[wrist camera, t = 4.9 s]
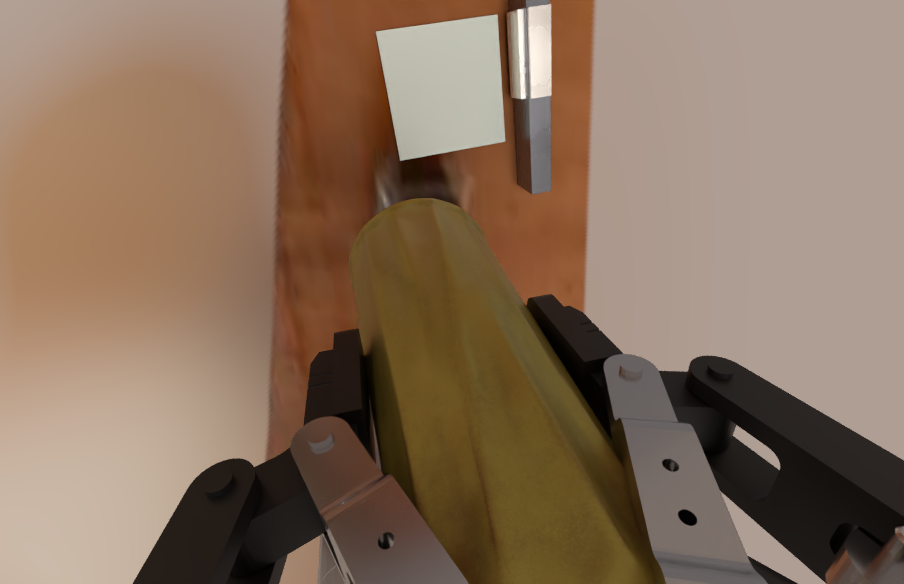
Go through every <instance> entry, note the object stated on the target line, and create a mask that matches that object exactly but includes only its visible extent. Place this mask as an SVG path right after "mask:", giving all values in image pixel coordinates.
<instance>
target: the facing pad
mask: <svg viewBox="0 0 904 584" xmlns="http://www.w3.org/2000/svg"><path fill="white" fill-rule="evenodd" d="M376 36H377V41H378V47H379V52H380V57H381V62H382V68H383V73H384V78H385V84H386V89H387V94H388V100H389V105H390V110H391V116H392V121H393V126H394V131H395V137H396V142H397V147H398V153H399V158H400V161H402V160H407V159H413V158H418V157H424V156H429V155H435V154H440V153H446V152H451V151H457V150H462V149H468V148H473V147H478V146H484V145H489V144H495V143H500V142H505V129H504V113H503V97H502V80H501V64H500V48H499V31H498V15H490V16H483V17H475V18H468V19H461V20H454V21H447V22H440V23H433V24H426V25H419V26H412V27H404V28H397V29H390V30H383V31H376Z"/></svg>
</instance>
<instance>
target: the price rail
mask: <svg viewBox="0 0 904 584" xmlns="http://www.w3.org/2000/svg"><path fill="white" fill-rule="evenodd" d="M506 15H507V34H508V53H509V72H510V91H511V97H512V98H513V102H514V122H515V142H516V162H517V183H518V185H519V186H521V187H522V188H523V189H525V190H526V191H528V192H529V193H531V194H537V193H542V192H547V191H551V120H550V96H551V95H552V94H551V4H550V1H549V0H509V12H508V13H506Z"/></svg>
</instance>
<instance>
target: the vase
mask: <svg viewBox="0 0 904 584" xmlns="http://www.w3.org/2000/svg"><path fill="white" fill-rule="evenodd" d="M349 272H350V279H351V284H352V288H353V290H354V292H355V295H356V302H357V311H358V322H359V329H360V335H361V342H362V346H363V351H364V356H365V364H366V373H367V382H368V391H369V397H370V404H371V411H372V417H373V423H374V428H375V434H376V439H377V445H378V451H379V458H380V465H381V472H382V474H383V475H385V474H387V473H389V474H391V475H392V476H393V477H394V479H395V480H396V481H397V483H398V484H399V486H400V487H401V488H402V490H403V491H404V493H405V494H406V495H407V497H408V498H409V500H410V501H411V502H412V504H413V505H414V507H415V508H416V510H417V511H418V512H419V514H420V515H421V517H422V518H423V519H424V521H425V522H426V524H427V525H428V526H429V528H430V529H431V531H432V532H433V534H434V535H435V536H436V538H437V539H438V541H439V542H440V543H441V545H442V546H443V548H444V549H445V550H446V552H447V553H448V555H449V556H450V558H451V559H452V560H453V562H454V563H455V565H456V566H457V567H458V569H459V570H460V572H461V573H462V574H463V576H464V577H465V579H466V580H467V582H468V583H469V584H654V581H653V576H652V572H651V569H650V566H649V563H648V559H647V556H646V553H645V550H644V547H643V543H642V540H641V537H640V534H639V531H638V528H637V523H636V518H635V514H634V509H633V504H632V499H631V495H630V490H629V485H628V481H627V477H626V474H625V472H624V469H623V466H622V463H621V461H620V460H619V458H618V457H617V455H616V453H615V451H614V449H613V446H612V440H611V439H610V437H609V436H608V434H607V433H606V431H605V430H604V428H603V426H602V425H601V423H600V422H599V420H598V419H597V417H596V416H595V414H594V412H593V411H592V409H591V408H590V406H589V405H588V403H587V401H586V400H585V398H584V397H583V395H582V394H581V392H580V390H579V389H578V387H577V386H576V384H575V383H574V381H573V379H572V378H571V376H570V374H569V373H568V371H567V370H566V368H565V366H564V365H563V363H562V362H561V360H560V359H559V357H558V356H557V354H556V353H555V351H554V349H553V348H552V346H551V345H550V343H549V342H548V340H547V338H546V337H545V335H544V333H543V332H542V330H541V329H540V327H539V325H538V324H537V322H536V320H535V319H534V317H533V316H532V314H531V312H530V311H529V309H528V308H527V306H526V305H525V303H524V302H523V300H522V298H521V297H520V295H519V294H518V292H517V291H516V289H515V288H514V286H513V285H512V283H511V282H510V280H509V278H508V277H507V275H506V273H505V271H504V270H503V268H502V266H501V265H500V263H499V261H498V259H497V258H496V256H495V255H494V253H493V251H492V250H491V248H490V246H489V245H488V243H487V242H486V239H485V236H484V233H483V231H482V230H481V228H480V227H479V225H478V224H477V223H476V222H475V221H474V220H473V219H472V218H471V217H470V215H468V214H467V213H466V212H465V211H464V210H462V209H461V208H459V207H458V206H456V205H453V204H451V203H449V202H445V201H442V200H438V199H432V198H419V199H410V200H406V201H402V202H399V203H396V204H394V205H391V206H389V207H388V208H386V209H384V210H383V211H381V212H380V213H378V214H377V215H376V216H374V217H373V218H372V219H371V220H369V221H368V222H367V223H366V224H365V225H364V226H363V228H362V229H361V231H360V232H359V234H358V236H357V238H356V240H355V242H354V244H353V246H352V249H351V252H350V258H349Z"/></svg>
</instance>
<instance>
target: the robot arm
mask: <svg viewBox="0 0 904 584" xmlns="http://www.w3.org/2000/svg"><path fill="white" fill-rule="evenodd" d="M527 308H528V309H529V311H530V312H531V314H532V316H533V317H534V319H535V320H536V322H537V324H538V325H539V327H540V329H541V330H542V332H543V333H544V335H545V337H546V338H547V340H548V342H549V343H550V345H551V346H552V348H553V349H554V351H555V353H556V354H557V356H558V357H559V359H560V360H561V362H562V363H563V365H564V366H565V368H566V370H567V371H568V373H569V374H570V376H571V378H572V379H573V381H574V383H575V384H576V386H577V387H578V389H579V390H580V392H581V394H582V395H583V397H584V398H585V400H586V401H587V403H588V405H589V406H590V408H591V409H592V411H593V412H594V414H595V416H596V417H597V419H598V420H599V422H600V423H601V425H602V426H603V428H604V430H605V431H606V433H607V434H608V436H609V437H610V439H611V440H612V446H613V449H614V451H615V453H616V455H617V457H618V458H619V460H620V461H621V463H622V466H623V469H624V472H625V474H626V477H627V481H628V485H629V490H630V495H631V499H632V504H633V509H634V514H635V518H636V523H637V528H638V531H639V534H640V537H641V540H642V543H643V547H644V550H645V553H646V556H647V559H648V563H649V566H650V569H651V572H652V576H653V581H654V584H797V583H795V582H794V581H792V580H790V579H788V578H787V577H785V576H783V575H781V574H779V573H777V572H776V571H774V570H772V569H770V568H769V567H767V566H765V565H763V564H761V563H760V562H758V561H756V560H754V559H752V558H751V557H749V556H747V554H746V552H745V549H744V547H743V544H742V542H741V540H740V537H739V535H738V533H737V530H736V528H735V525H734V523H733V521H732V518H731V516H730V513H729V511H728V509H727V506H726V504H725V502H724V499H723V497H722V494H721V492H722V493H723V494H725V495H726V496H727V497H728V498H729V499H730V500H732V501H733V502H734V503H735V504H736V505H737V506H738V507H739V508H740V509H742V510H743V511H744V512H745V513H746V514H747V515H748V516H750V517H751V518H752V519H753V520H754V521H755V522H757V523H758V524H759V525H760V526H761V527H762V528H763V529H765V530H766V531H767V532H768V533H769V534H770V535H771V536H773V537H774V538H775V539H776V540H777V541H778V542H779V543H781V544H782V545H783V546H784V547H785V548H786V549H788V550H789V551H790V552H791V553H792V554H793V555H794V556H795V557H797V558H798V559H799V560H800V561H801V562H802V563H804V564H805V565H806V566H807V567H808V568H809V569H810V570H812V571H813V572H814V573H815V574H816V575H817V576H818V577H819V578H821V579H822V580H823V581H824V582H825V583H826V584H904V461H903V460H902V459H900V458H898V457H897V456H895V455H893V454H892V453H890V452H888V451H887V450H885V449H883V448H881V447H880V446H878V445H876V444H875V443H873V442H871V441H869V440H868V439H866V438H864V437H862V436H861V435H859V434H857V433H856V432H854V431H852V430H851V429H849V428H847V427H845V426H844V425H842V424H840V423H839V422H837V421H835V420H833V419H832V418H830V417H828V416H827V415H825V414H823V413H821V412H820V411H818V410H816V409H814V408H813V407H811V406H809V405H808V404H806V403H804V402H802V401H801V400H799V399H797V398H796V397H794V396H792V395H790V394H789V393H787V392H785V391H784V390H782V389H780V388H778V387H777V386H775V385H773V384H771V383H770V382H768V381H766V380H765V379H763V378H761V377H760V376H758V375H756V374H754V373H753V372H751V371H749V370H748V369H746V368H744V367H742V366H740V365H739V364H737V363H735V362H733V361H731V360H728V359H725V358H722V357H717V356H701V357H697V358H695V359H693V360H692V361H691V363H690V366H689V370H688V372H675V371H674V372H673V371H658V369H657V368H656V367H655V366H654V365H653V364H652V363H651V362H649V361H648V360H646V359H644V358H642V357H638V356H635V355H629V354H623V353H622V352H621V351H620V350H619V349H618V348H617V347H616V346H615V345H614V344H613V343H612V342H611V341H610V340H609V339H608V338H607V337H606V336H605V335H604V334H603V333H602V331H599V328H598V327H597V326H596V325H595V324H594V323H592V322H591V320H590V319H589V318H588V317H587V316H586V315H585V314H584V313H583V312H581V311H579V310H577V309H575V308H573V307H571V306H565V307H564V306H563V305H562V304H561V303H560V302H559V301H558V300H557V299H556V298H555V297H554V296H553V295H552V294H548V295H543V296H537V297H532V298H529V299H528V301H527ZM309 378H310V379H309V383H308V391H307V400H306V409H305V417H304V426H303V427H302V428H300V429H299V430H298V431H297V433H296V434H295V435H294V437H293V439H292V441H291V445H290V448H289V449H287V450H286V451H285V452H283V453H282V454H280V455H278V456H277V457H275V458H273V459H271V460H268V461H266V462H264V463H262V464H260V465H258V466H256V467H253V465H252V464H251V463H250V462H249V461H247V460H244V459H228V460H225V461H222V462H219V463H217V464H215V465H213V466H211V467H210V468H208V469H206V470H205V471H203V472H202V473H201V474H200V475H199V476H198V477H196V478H195V480H194V481H193V482H192V483H191V485H190V486H189V488H188V489H187V491H186V493H185V494H184V496H183V498H182V500H181V501H180V503H179V505H178V506H177V508H176V510H175V512H174V513H173V515H172V517H171V518H170V521H169V522H168V524H167V525H166V527H165V529H164V530H163V532H162V534H161V536H160V537H159V539H158V541H157V543H156V544H155V546H154V548H153V550H152V551H151V553H150V555H149V557H148V558H147V560H146V562H145V563H144V565H143V567H142V569H141V570H140V572H139V574H138V575H137V577H136V579H135V580H134V582H133V584H279V582H280V578H281V575H282V572H283V568H284V565H285V562H286V558H287V554H289V553H291V552H292V551H294V550H296V549H297V548H299V547H301V546H302V545H304V544H306V543H308V542H309V541H311V540H313V539H314V538H316V537H318V536H319V535H320V551H319V570H318V584H469V583H468V582H467V580H466V579H465V577H464V576H463V574H462V573H461V572H460V570H459V569H458V567H457V566H456V565H455V563H454V562H453V560H452V559H451V558H450V556H449V555H448V553H447V552H446V550H445V549H444V548H443V546H442V545H441V543H440V542H439V541H438V539H437V538H436V536H435V535H434V534H433V532H432V531H431V529H430V528H429V526H428V525H427V524H426V522H425V521H424V519H423V518H422V517H421V515H420V514H419V512H418V511H417V510H416V508H415V507H414V505H413V504H412V502H411V501H410V500H409V498H408V497H407V495H406V494H405V493H404V491H403V490H402V488H401V487H400V486H399V484H398V483H397V481H396V480H395V479H394V477H393V476H392V475H391V474H389V473H387V474H385V475H383V474H382V472H381V465H380V458H379V451H378V445H377V439H376V434H375V428H374V423H373V417H372V411H371V404H370V397H369V391H368V382H367V373H366V364H365V356H364V351H363V346H362V342H361V337H360V333H359V329H353V330H347V331H342V332H336V333H334V344H333V350H328V351H322V352H319V353H318V354H317V356H316V357H315V359H314V360H313V361H312V363H311V365H310V374H309ZM736 425H738V426H739V427H741V428H742V429H743V430H745V431H746V432H747V433H749V434H750V435H752V436H753V437H755V438H756V439H757V440H759V441H760V442H762V443H763V444H764V445H766V446H767V447H769V448H770V449H771V450H772V451H773V452H774V453H775V454H776V456H777V457H778V459H779V462H780V470H778V469H777V468H775V467H774V466H773V465H771V464H770V463H768V462H767V461H766V460H765V459H763V458H762V457H760V456H759V455H758V454H757V453H755V452H754V451H752V450H751V449H750V448H748V447H747V446H745V445H744V444H743V443H742V442H740V441H739V440H738V439H736V438H735V437H734V436H733V432H734V430H735V427H736ZM720 491H721V492H720Z"/></svg>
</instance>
